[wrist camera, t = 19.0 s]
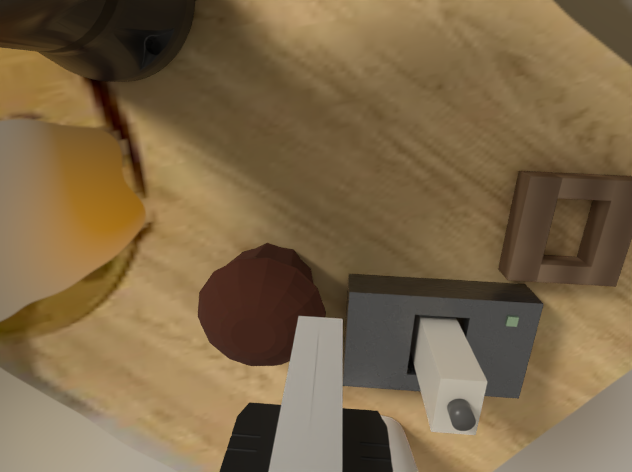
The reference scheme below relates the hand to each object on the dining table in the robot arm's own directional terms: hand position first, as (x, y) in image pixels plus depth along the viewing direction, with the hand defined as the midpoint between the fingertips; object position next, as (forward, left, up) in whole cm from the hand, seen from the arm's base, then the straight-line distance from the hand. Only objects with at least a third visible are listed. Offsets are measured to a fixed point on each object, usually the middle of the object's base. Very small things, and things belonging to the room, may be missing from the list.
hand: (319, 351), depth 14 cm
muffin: (+11, -6, -27) cm, 29 cm away
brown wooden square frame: (+3, +22, -26) cm, 35 cm away
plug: (+15, +11, -26) cm, 32 cm away
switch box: (+15, +11, -26) cm, 32 cm away
